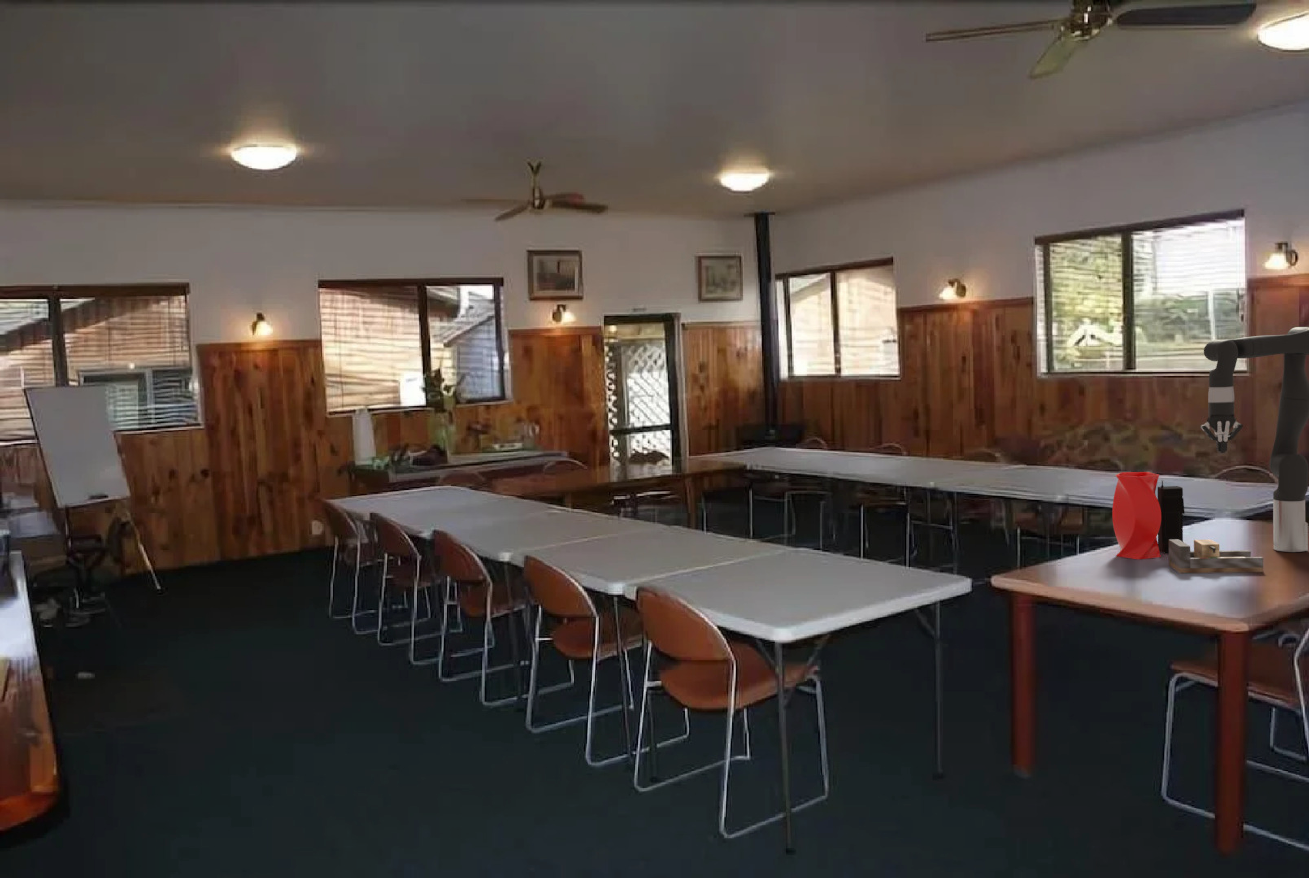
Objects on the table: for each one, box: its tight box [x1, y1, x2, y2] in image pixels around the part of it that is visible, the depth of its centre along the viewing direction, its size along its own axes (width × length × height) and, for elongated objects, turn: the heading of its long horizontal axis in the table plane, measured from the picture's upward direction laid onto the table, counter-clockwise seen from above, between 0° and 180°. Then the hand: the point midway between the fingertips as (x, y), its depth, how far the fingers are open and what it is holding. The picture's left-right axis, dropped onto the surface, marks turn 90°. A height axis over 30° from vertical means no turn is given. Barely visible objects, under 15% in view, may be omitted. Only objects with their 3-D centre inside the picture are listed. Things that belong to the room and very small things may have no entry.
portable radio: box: [1157, 480, 1186, 554], centre depth 359 cm, size 8×6×25 cm
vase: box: [1111, 471, 1162, 560], centre depth 357 cm, size 15×14×28 cm
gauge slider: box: [1193, 539, 1220, 558], centre depth 330 cm, size 5×12×7 cm, turn 169°
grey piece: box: [1168, 539, 1264, 574], centre depth 332 cm, size 24×12×8 cm, turn 79°
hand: (1221, 452), depth 345 cm, fingers closed
